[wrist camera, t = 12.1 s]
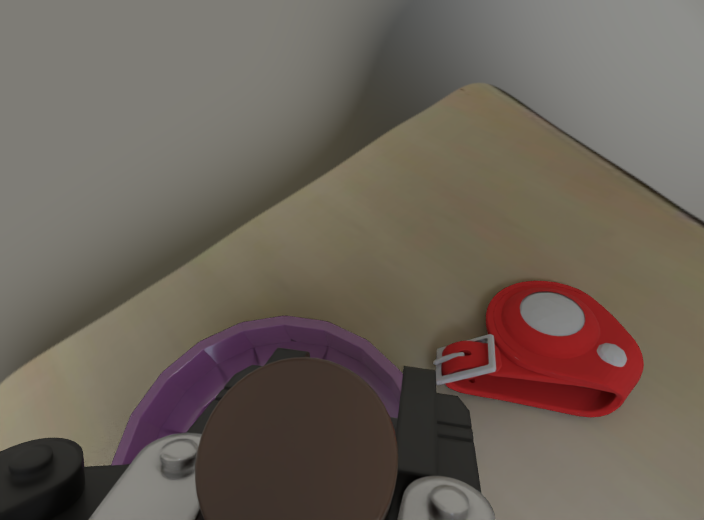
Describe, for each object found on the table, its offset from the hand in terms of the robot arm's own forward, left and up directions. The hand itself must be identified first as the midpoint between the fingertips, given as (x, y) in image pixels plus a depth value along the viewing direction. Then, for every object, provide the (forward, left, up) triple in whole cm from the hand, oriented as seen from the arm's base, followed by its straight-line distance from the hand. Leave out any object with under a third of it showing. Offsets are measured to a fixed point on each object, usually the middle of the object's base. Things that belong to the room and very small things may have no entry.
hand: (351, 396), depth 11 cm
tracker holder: (-9, -10, -20) cm, 24 cm away
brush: (0, +2, -5) cm, 6 cm away
